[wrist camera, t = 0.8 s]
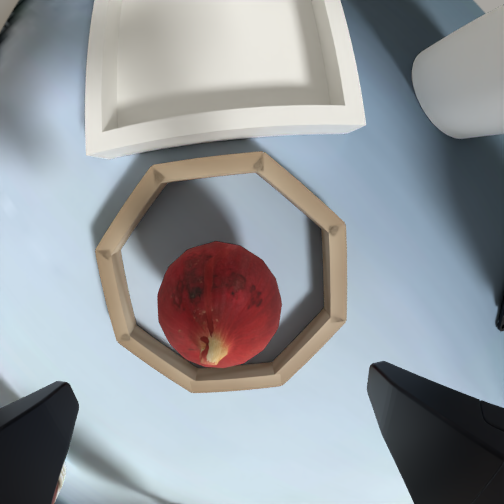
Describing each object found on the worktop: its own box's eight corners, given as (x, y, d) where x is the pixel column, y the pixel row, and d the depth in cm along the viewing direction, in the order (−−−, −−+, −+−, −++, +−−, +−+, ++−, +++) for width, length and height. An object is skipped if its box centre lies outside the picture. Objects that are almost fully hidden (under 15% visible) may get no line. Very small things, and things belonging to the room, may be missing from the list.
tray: (310, -36, 13) (319, -60, 10) (345, 134, 16) (366, 125, 13) (115, -15, 13) (102, -36, 10) (109, 159, 16) (86, 155, 13)
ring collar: (331, 150, 16) (340, 147, 15) (337, 363, 19) (343, 375, 18) (96, 178, 16) (85, 178, 14) (139, 380, 19) (134, 392, 17)
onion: (161, 248, 17) (105, 296, 9) (256, 218, 17) (271, 247, 9) (193, 334, 18) (170, 422, 10) (282, 310, 18) (310, 392, 10)
